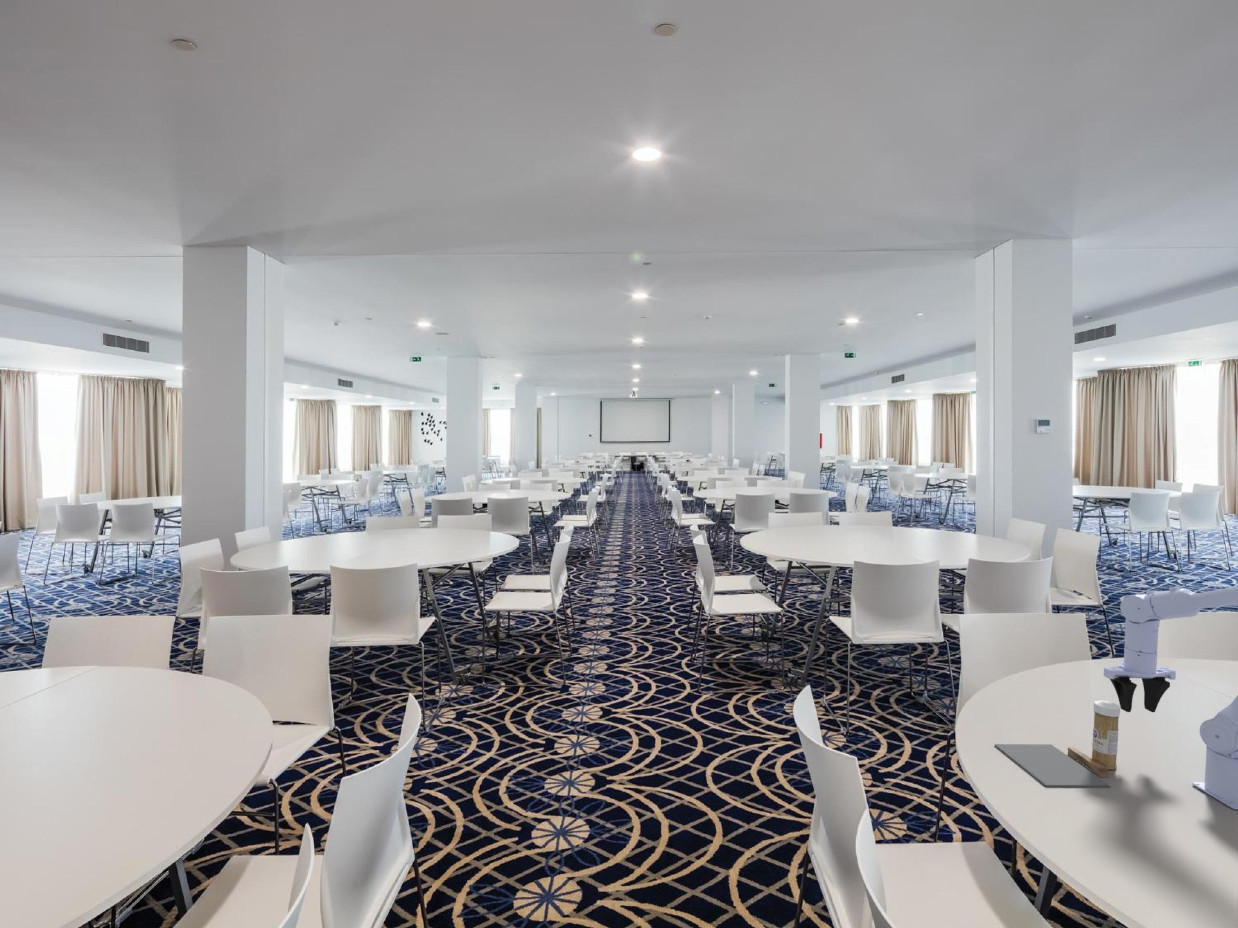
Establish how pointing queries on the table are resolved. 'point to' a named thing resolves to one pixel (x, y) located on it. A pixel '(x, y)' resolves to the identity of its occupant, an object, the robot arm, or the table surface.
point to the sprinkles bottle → (1105, 733)
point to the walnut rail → (1088, 762)
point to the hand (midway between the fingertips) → (1137, 710)
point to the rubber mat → (1050, 765)
